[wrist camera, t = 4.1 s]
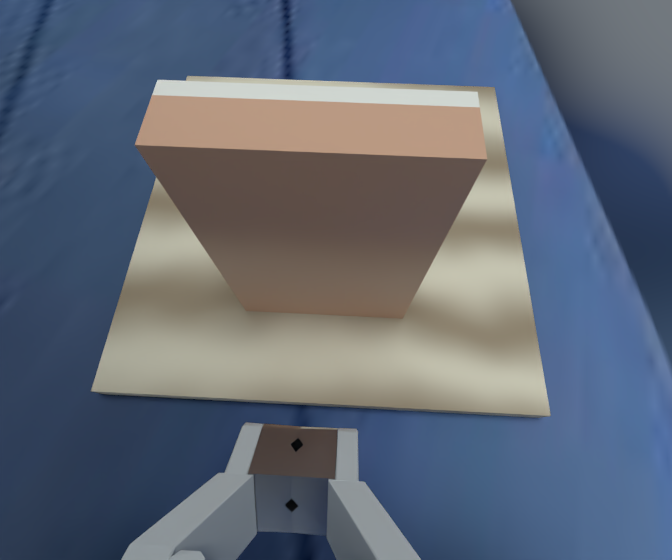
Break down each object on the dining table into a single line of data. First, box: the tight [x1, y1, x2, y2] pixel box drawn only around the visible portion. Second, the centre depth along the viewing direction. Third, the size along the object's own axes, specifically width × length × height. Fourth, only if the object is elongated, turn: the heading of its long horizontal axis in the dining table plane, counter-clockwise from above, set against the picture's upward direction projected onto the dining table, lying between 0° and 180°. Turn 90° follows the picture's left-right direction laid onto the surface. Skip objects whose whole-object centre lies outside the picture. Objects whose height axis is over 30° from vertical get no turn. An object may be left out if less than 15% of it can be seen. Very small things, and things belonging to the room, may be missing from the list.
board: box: [91, 76, 551, 418], centre depth 25 cm, size 24×24×1 cm
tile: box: [135, 80, 487, 319], centre depth 16 cm, size 9×2×13 cm, turn 87°
